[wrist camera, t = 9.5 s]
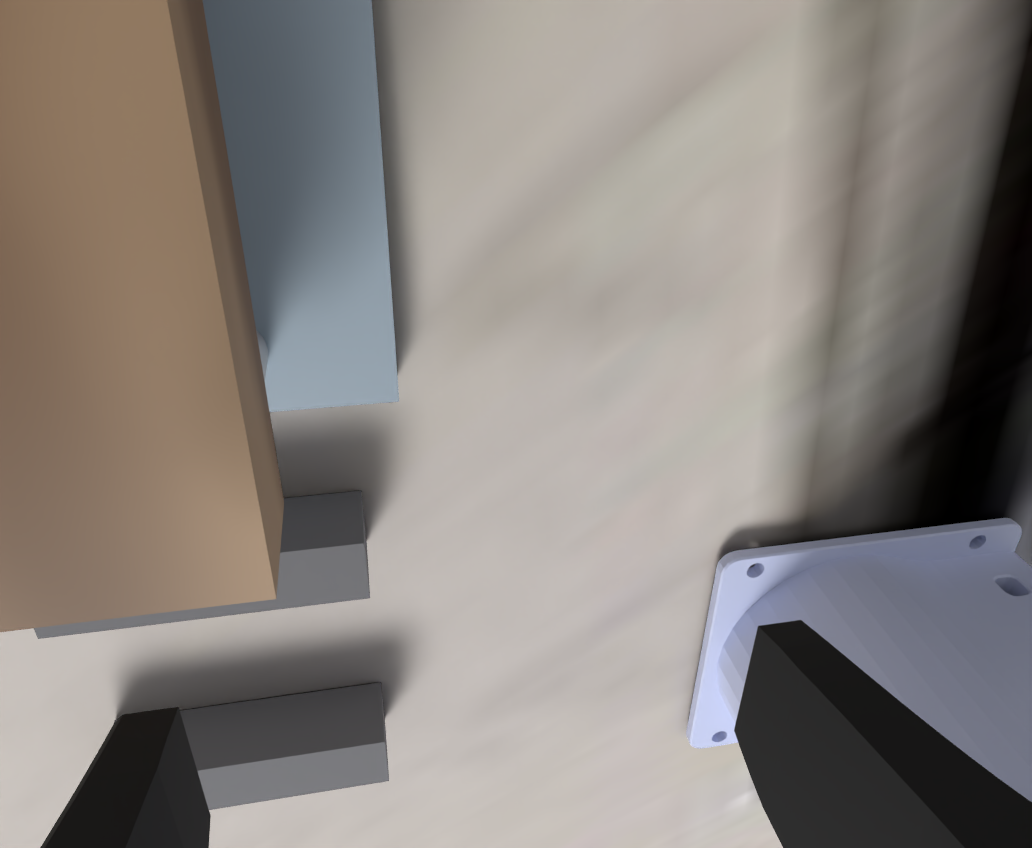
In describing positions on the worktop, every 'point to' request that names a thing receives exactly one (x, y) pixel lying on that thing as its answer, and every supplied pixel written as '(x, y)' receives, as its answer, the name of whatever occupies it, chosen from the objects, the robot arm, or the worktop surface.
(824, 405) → the worktop surface
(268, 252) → the peg base
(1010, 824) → the robot arm
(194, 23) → the shelf board
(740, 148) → the worktop surface
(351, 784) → the board rack
